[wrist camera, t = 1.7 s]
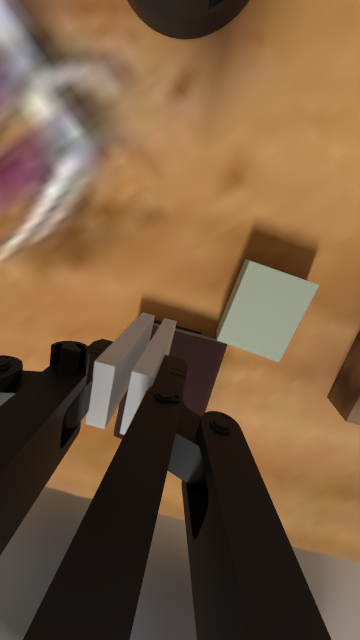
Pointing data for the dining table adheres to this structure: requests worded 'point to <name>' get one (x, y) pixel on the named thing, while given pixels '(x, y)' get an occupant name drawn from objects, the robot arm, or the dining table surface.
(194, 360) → the book
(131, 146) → the dining table surface
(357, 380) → the board
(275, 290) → the block
